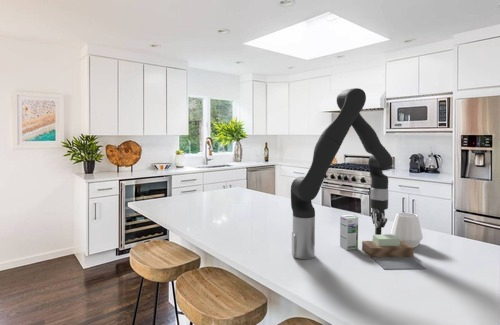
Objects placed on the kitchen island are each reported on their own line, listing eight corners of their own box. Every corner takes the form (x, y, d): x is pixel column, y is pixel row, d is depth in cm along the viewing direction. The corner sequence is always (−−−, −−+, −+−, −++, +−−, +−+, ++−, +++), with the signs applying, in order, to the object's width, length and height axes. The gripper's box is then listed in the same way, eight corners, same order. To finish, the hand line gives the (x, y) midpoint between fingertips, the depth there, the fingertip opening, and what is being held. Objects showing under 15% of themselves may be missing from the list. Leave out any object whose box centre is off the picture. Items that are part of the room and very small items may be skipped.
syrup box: (346, 250, 139) (347, 218, 138) (339, 245, 145) (340, 214, 143) (358, 249, 140) (358, 217, 139) (350, 244, 146) (351, 214, 145)
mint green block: (378, 246, 133) (378, 239, 132) (372, 241, 139) (373, 234, 138) (399, 245, 133) (400, 238, 132) (393, 241, 139) (393, 234, 138)
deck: (369, 257, 131) (370, 248, 130) (362, 249, 139) (362, 240, 139) (413, 257, 131) (413, 247, 130) (402, 249, 140) (402, 240, 139)
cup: (389, 246, 144) (390, 216, 143) (391, 237, 156) (392, 209, 154) (422, 251, 138) (423, 219, 136) (422, 241, 149) (423, 212, 148)
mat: (384, 269, 119) (384, 268, 119) (372, 258, 130) (372, 257, 130) (426, 269, 119) (426, 268, 119) (411, 257, 130) (411, 257, 130)
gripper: (365, 195, 149) (364, 230, 150) (377, 200, 136) (375, 240, 137) (381, 194, 149) (380, 230, 150) (394, 200, 136) (393, 240, 137)
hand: (378, 235), depth 144 cm, fingers closed
